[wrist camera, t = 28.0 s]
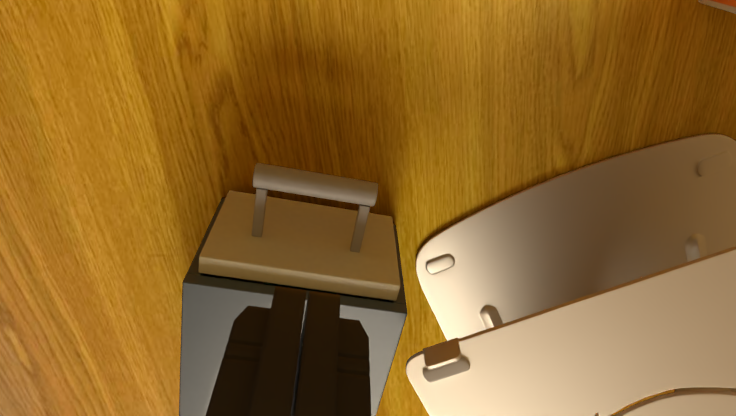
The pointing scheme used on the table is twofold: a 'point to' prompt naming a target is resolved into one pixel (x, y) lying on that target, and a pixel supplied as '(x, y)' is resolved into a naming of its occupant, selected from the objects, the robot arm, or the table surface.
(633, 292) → the laptop stand
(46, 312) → the table surface
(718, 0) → the cosmetic box
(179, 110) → the table surface
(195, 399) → the small drawer unit
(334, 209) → the drawer with bar handle
